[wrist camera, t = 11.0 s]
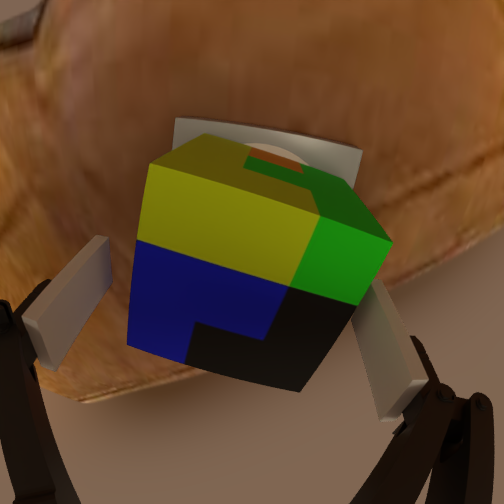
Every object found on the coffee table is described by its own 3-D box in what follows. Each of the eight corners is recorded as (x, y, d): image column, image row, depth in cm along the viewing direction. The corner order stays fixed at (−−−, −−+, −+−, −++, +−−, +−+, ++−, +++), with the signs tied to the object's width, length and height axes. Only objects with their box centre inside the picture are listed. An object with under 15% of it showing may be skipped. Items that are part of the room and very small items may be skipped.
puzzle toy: (173, 256, 24) (126, 344, 16) (204, 132, 20) (149, 163, 11) (293, 293, 25) (299, 392, 16) (343, 179, 21) (393, 242, 12)
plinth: (171, 265, 27) (164, 279, 25) (183, 115, 21) (174, 117, 19) (315, 290, 28) (318, 305, 26) (355, 145, 21) (363, 150, 19)
